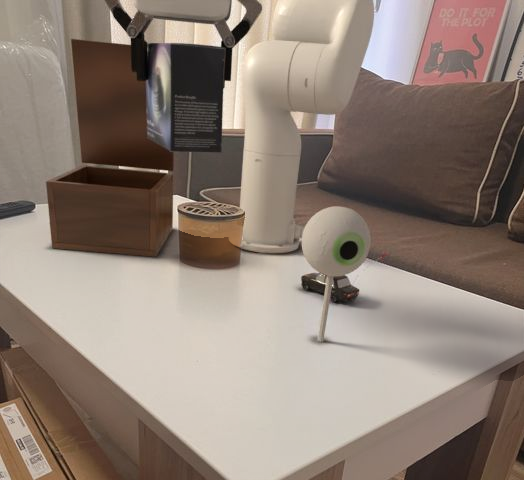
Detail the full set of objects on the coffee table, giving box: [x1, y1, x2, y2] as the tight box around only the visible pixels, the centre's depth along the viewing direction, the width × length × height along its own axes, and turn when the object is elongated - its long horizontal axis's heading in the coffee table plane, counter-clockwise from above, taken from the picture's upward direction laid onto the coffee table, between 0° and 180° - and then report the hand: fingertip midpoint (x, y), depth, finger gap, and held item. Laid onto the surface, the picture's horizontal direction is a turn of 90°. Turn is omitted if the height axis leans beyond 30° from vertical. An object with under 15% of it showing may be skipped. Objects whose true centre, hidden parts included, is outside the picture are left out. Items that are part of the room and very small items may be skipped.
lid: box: [70, 38, 175, 172], centre depth 90 cm, size 19×16×5 cm
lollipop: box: [301, 205, 372, 343], centre depth 56 cm, size 7×7×15 cm
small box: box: [146, 42, 226, 154], centre depth 60 cm, size 11×6×10 cm, turn 25°
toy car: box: [300, 253, 387, 303], centre depth 71 cm, size 4×12×8 cm, turn 44°
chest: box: [45, 164, 174, 258], centre depth 87 cm, size 18×16×10 cm
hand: (181, 83), depth 59 cm, fingers closed on small box, 8 cm apart
